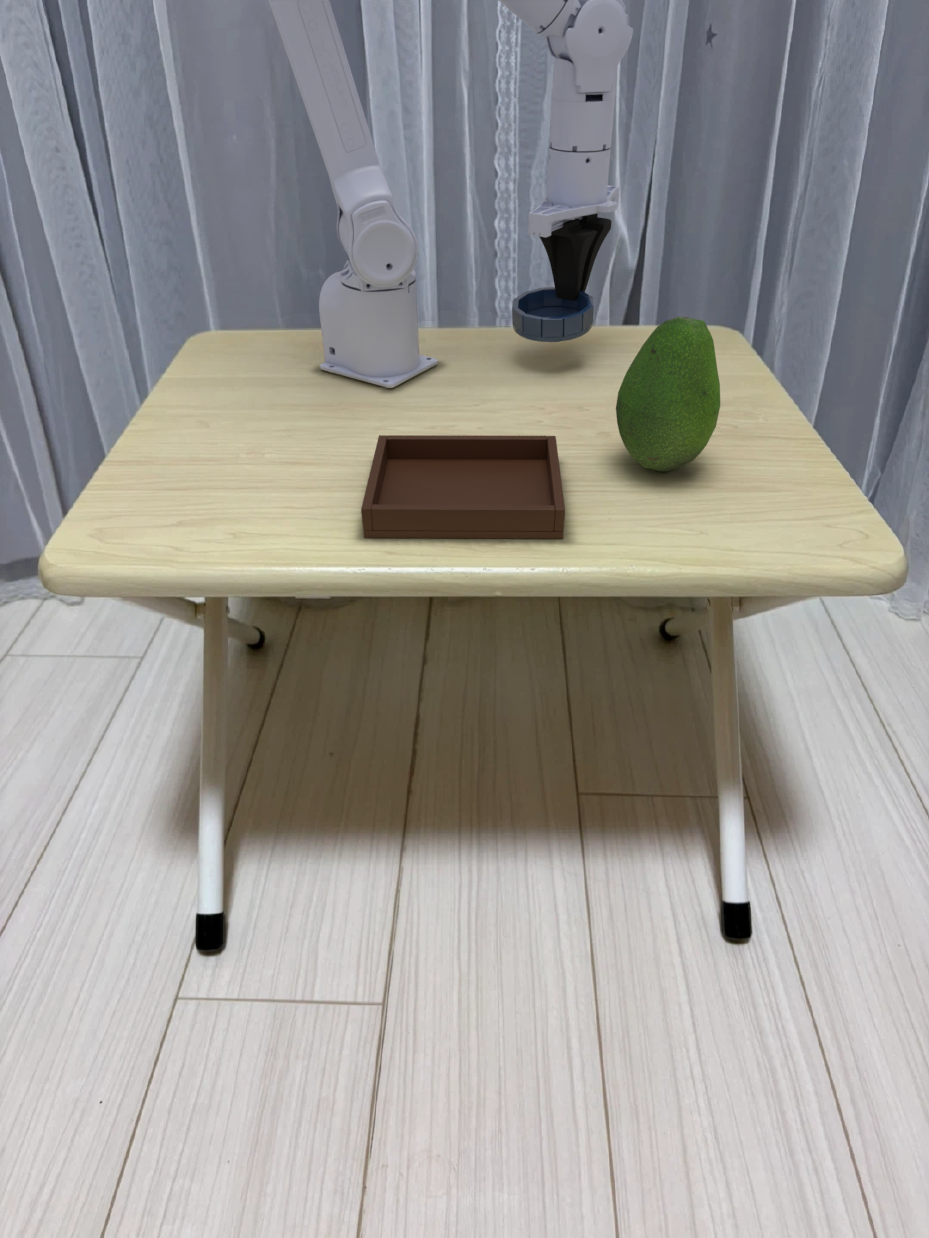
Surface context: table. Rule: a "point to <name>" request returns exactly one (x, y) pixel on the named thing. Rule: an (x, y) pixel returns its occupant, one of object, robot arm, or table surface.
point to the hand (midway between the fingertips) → (570, 297)
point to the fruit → (670, 396)
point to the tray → (464, 488)
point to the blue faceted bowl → (551, 315)
